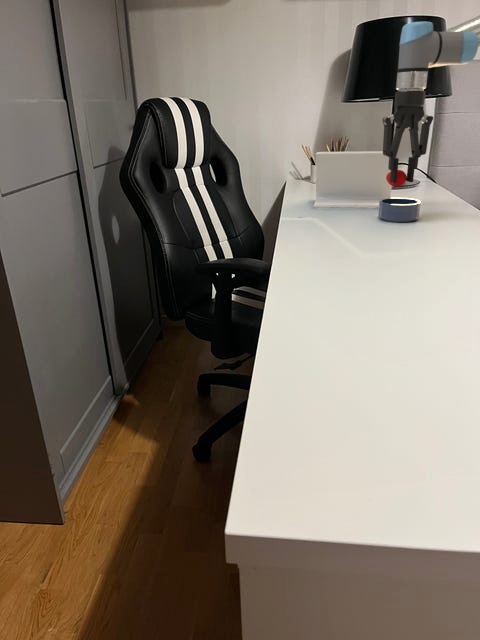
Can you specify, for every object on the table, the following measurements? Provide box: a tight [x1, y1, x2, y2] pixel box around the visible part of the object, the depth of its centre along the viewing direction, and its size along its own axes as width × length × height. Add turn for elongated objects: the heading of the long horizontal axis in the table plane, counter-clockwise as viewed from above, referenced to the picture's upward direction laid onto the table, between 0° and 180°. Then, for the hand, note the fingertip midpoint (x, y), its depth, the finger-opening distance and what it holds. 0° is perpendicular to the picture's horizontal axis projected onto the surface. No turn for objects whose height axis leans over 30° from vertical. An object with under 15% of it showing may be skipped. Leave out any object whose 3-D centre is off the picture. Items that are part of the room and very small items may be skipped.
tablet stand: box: [313, 150, 398, 209], centre depth 166 cm, size 18×25×17 cm
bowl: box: [377, 197, 421, 223], centre depth 144 cm, size 11×11×5 cm
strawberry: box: [386, 169, 407, 188], centre depth 144 cm, size 5×5×7 cm
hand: (401, 181), depth 140 cm, fingers closed on strawberry, 4 cm apart
